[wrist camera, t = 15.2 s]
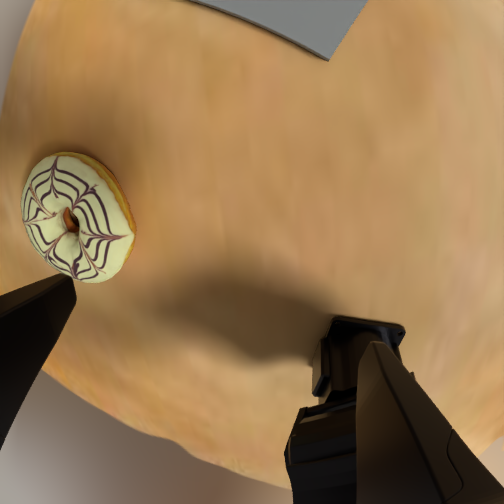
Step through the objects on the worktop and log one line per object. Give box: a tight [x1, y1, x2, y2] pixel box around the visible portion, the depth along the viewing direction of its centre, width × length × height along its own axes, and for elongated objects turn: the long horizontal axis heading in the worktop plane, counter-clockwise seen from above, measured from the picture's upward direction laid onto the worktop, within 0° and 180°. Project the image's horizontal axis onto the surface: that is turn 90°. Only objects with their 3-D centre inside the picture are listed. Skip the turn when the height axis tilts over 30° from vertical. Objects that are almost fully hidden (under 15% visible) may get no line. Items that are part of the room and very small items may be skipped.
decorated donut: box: [21, 152, 136, 283], centre depth 21 cm, size 10×11×4 cm
